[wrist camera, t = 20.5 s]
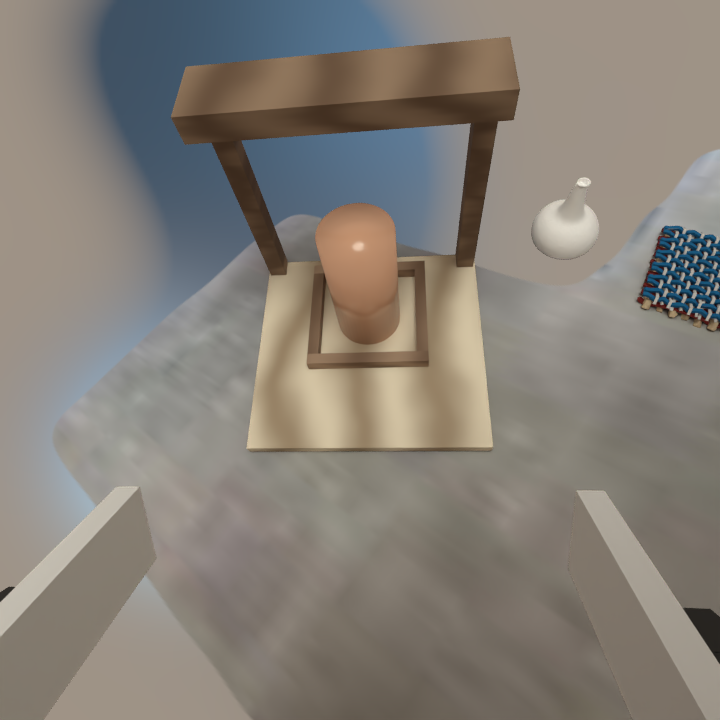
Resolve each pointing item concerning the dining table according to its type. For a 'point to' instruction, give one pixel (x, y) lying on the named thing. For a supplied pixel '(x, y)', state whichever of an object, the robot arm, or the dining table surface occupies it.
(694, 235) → the woven mat
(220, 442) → the dining table surface
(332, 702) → the dining table surface
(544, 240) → the garlic bulb
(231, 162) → the wooden c-frame stand
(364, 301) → the tan cylinder
